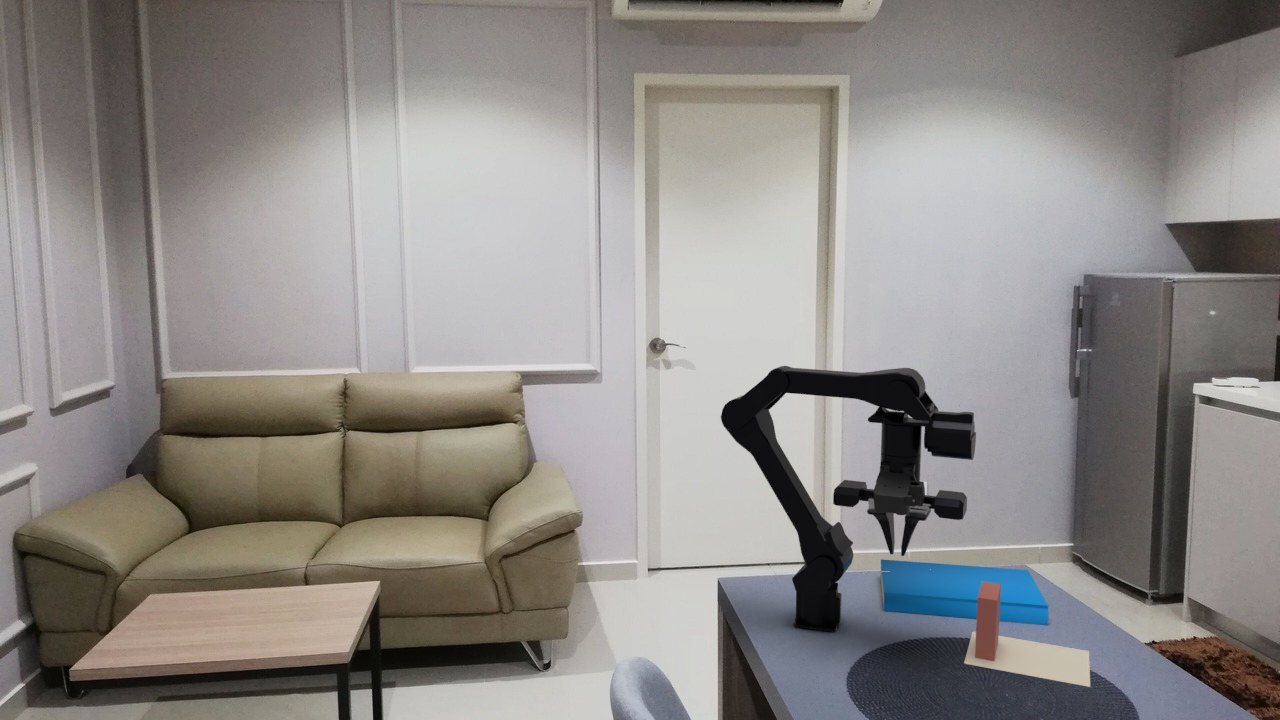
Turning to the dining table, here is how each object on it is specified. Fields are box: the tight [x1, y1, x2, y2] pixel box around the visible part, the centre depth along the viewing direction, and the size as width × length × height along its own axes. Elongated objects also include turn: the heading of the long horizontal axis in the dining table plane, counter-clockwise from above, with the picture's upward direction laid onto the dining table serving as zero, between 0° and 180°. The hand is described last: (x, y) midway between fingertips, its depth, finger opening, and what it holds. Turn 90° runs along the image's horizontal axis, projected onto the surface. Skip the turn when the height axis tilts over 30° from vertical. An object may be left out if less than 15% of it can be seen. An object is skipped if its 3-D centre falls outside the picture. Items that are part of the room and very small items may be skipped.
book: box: [879, 558, 1049, 626], centre depth 150 cm, size 17×4×25 cm
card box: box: [975, 581, 1001, 661], centre depth 130 cm, size 3×7×9 cm, turn 154°
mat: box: [963, 631, 1091, 688], centre depth 128 cm, size 16×12×1 cm
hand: (897, 554), depth 135 cm, fingers closed
